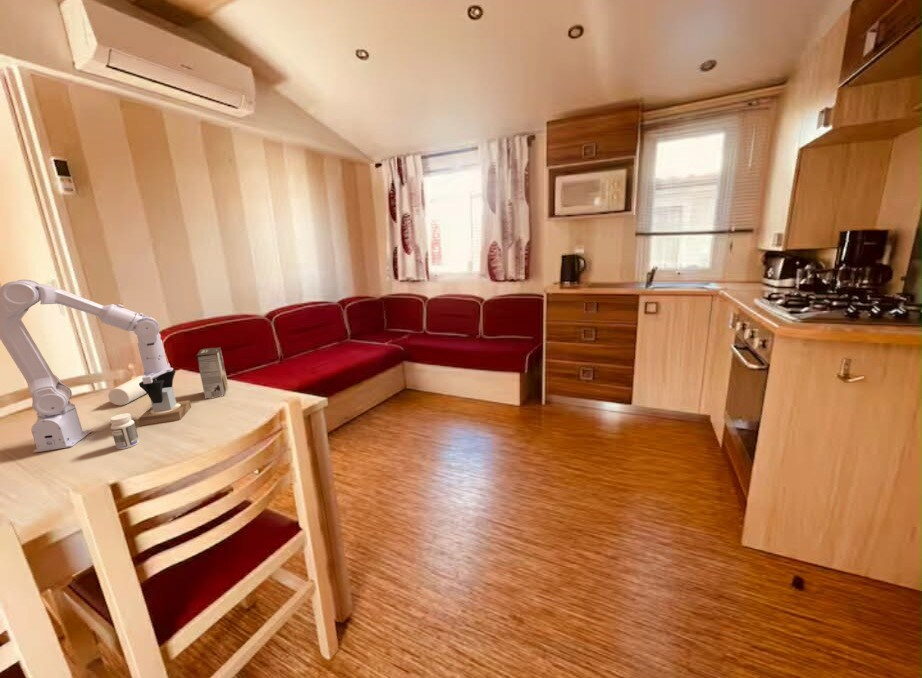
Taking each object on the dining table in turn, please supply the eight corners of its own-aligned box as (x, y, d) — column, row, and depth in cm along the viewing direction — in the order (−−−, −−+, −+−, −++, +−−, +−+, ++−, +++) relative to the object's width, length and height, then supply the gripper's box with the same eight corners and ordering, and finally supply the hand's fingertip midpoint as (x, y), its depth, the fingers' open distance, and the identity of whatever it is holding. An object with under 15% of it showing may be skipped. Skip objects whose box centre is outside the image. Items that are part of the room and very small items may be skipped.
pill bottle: (137, 438, 103) (130, 410, 101) (141, 444, 100) (134, 415, 98) (114, 446, 100) (106, 417, 98) (118, 451, 97) (110, 422, 95)
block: (171, 409, 115) (167, 391, 114) (153, 412, 114) (149, 394, 112) (176, 404, 119) (172, 386, 118) (159, 406, 118) (155, 389, 117)
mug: (134, 399, 126) (157, 386, 138) (119, 384, 125) (144, 372, 136) (109, 414, 127) (135, 400, 138) (94, 399, 125) (121, 386, 136)
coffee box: (209, 390, 138) (200, 349, 134) (229, 387, 140) (221, 346, 137) (204, 399, 130) (195, 355, 126) (225, 395, 132) (217, 352, 129)
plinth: (180, 419, 114) (178, 411, 114) (141, 425, 111) (139, 417, 110) (191, 407, 123) (189, 399, 123) (155, 412, 120) (153, 404, 120)
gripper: (159, 361, 107) (169, 404, 110) (177, 349, 121) (186, 388, 124) (129, 364, 105) (140, 408, 108) (151, 351, 118) (160, 391, 121)
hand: (163, 398), depth 116 cm, fingers open, 7 cm apart
